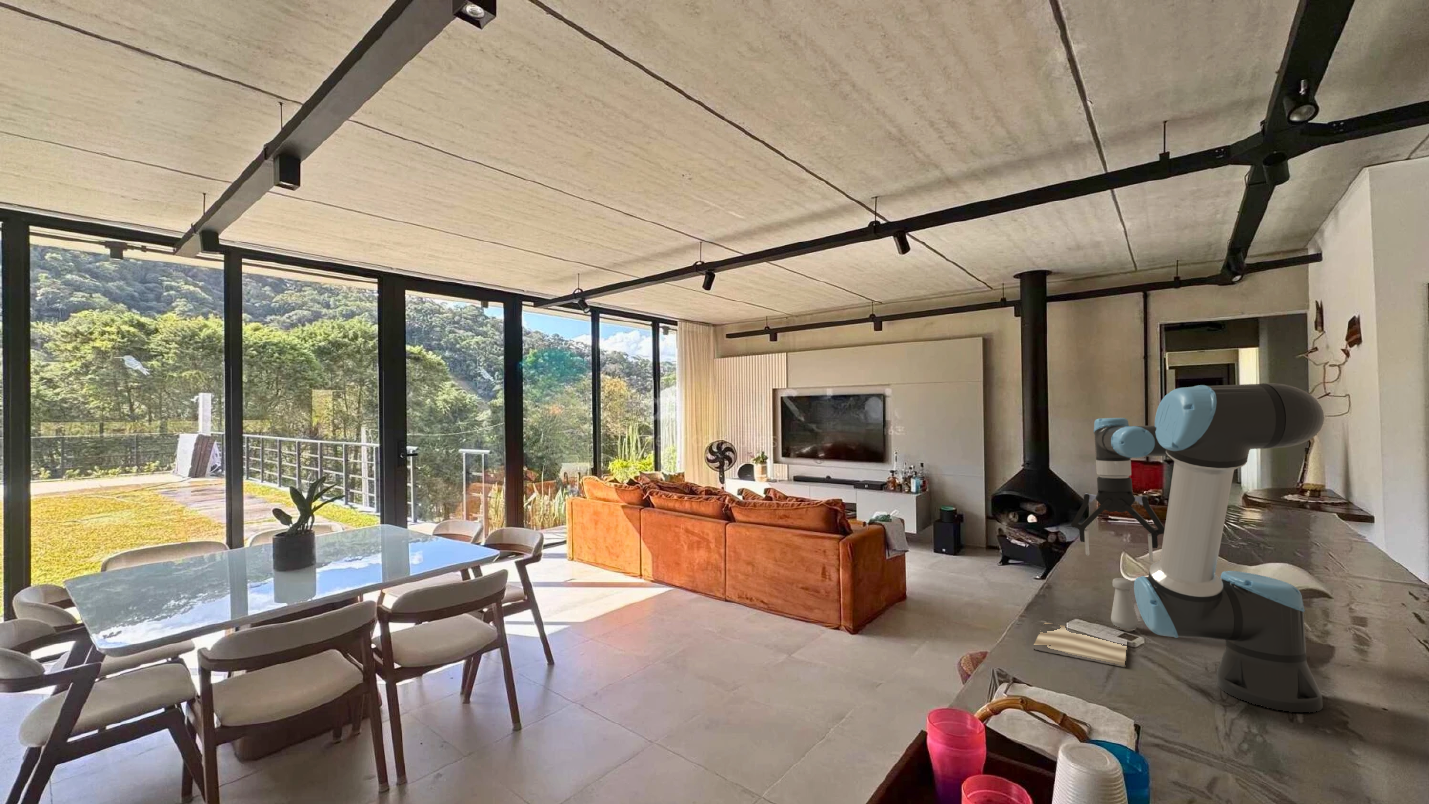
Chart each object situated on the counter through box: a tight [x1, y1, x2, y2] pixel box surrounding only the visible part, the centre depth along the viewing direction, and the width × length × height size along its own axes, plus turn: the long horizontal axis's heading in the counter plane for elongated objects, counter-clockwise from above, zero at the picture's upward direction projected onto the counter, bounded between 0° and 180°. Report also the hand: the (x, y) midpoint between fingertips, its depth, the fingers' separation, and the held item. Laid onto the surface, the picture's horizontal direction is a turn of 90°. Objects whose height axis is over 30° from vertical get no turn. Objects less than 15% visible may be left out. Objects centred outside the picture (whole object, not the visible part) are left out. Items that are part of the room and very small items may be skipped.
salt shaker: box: [1110, 577, 1139, 630], centre depth 149 cm, size 6×6×13 cm
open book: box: [1033, 622, 1128, 666], centre depth 139 cm, size 18×18×1 cm
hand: (1118, 557), depth 149 cm, fingers open, 13 cm apart
